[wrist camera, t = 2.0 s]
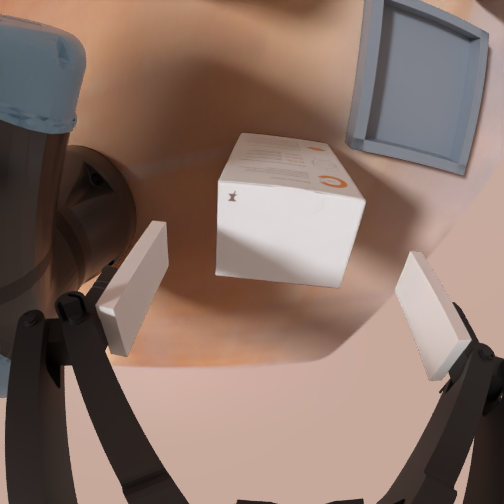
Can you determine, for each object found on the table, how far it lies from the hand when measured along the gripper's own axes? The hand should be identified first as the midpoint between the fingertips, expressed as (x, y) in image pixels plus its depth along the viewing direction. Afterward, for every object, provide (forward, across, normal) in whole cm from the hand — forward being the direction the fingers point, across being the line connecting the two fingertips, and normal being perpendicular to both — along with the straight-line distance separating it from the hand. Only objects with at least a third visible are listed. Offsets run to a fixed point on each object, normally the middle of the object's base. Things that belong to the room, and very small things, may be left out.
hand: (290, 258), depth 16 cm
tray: (+15, +11, +11) cm, 21 cm away
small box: (+15, 0, 0) cm, 15 cm away
